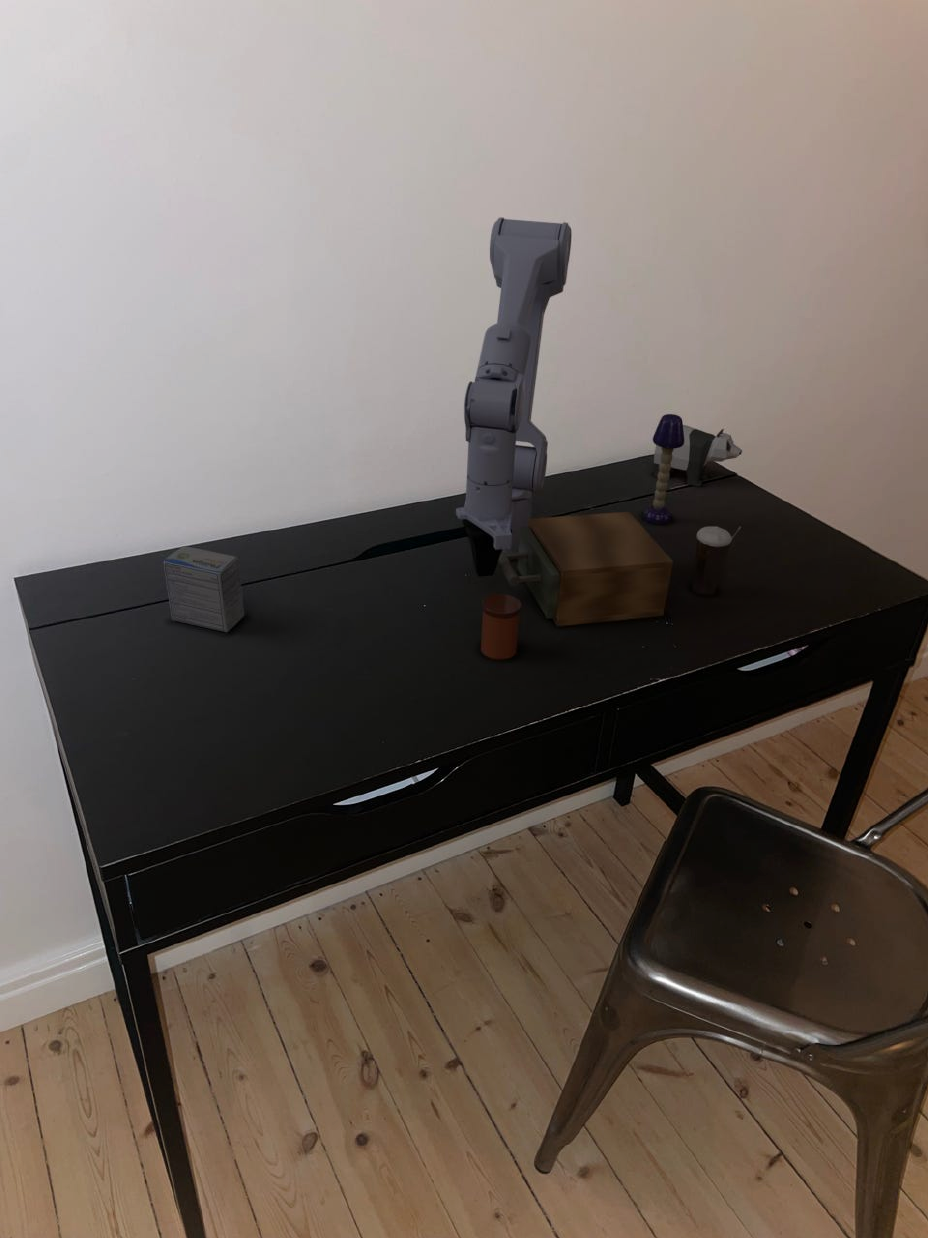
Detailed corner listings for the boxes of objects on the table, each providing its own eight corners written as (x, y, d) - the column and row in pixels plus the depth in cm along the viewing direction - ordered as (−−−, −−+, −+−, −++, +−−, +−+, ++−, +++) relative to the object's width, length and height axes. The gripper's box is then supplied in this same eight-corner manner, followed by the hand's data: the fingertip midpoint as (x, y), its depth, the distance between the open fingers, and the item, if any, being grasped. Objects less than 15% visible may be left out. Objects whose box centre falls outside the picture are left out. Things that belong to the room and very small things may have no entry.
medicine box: (245, 617, 120) (239, 556, 116) (226, 634, 117) (220, 572, 112) (190, 604, 122) (183, 544, 118) (170, 621, 119) (161, 559, 114)
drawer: (514, 622, 120) (517, 578, 117) (487, 570, 131) (489, 529, 128) (646, 609, 124) (653, 566, 121) (609, 560, 135) (614, 520, 132)
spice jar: (485, 661, 114) (488, 615, 110) (475, 641, 118) (478, 595, 114) (522, 658, 115) (526, 611, 111) (511, 637, 119) (515, 592, 115)
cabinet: (556, 626, 121) (562, 570, 117) (523, 571, 133) (528, 518, 129) (663, 616, 124) (673, 561, 120) (621, 562, 136) (629, 511, 132)
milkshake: (727, 600, 128) (741, 534, 123) (686, 595, 129) (699, 528, 124) (726, 584, 132) (740, 519, 127) (686, 579, 133) (699, 514, 128)
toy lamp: (673, 526, 147) (691, 422, 138) (643, 525, 147) (659, 421, 138) (668, 513, 151) (685, 411, 142) (638, 511, 151) (653, 410, 142)
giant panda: (645, 475, 164) (653, 421, 159) (656, 464, 168) (664, 412, 163) (729, 495, 158) (740, 440, 153) (738, 483, 162) (749, 430, 157)
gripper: (444, 455, 122) (441, 550, 129) (473, 503, 110) (468, 604, 117) (497, 452, 124) (492, 546, 131) (531, 499, 112) (523, 599, 119)
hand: (484, 573), depth 124 cm, fingers closed
